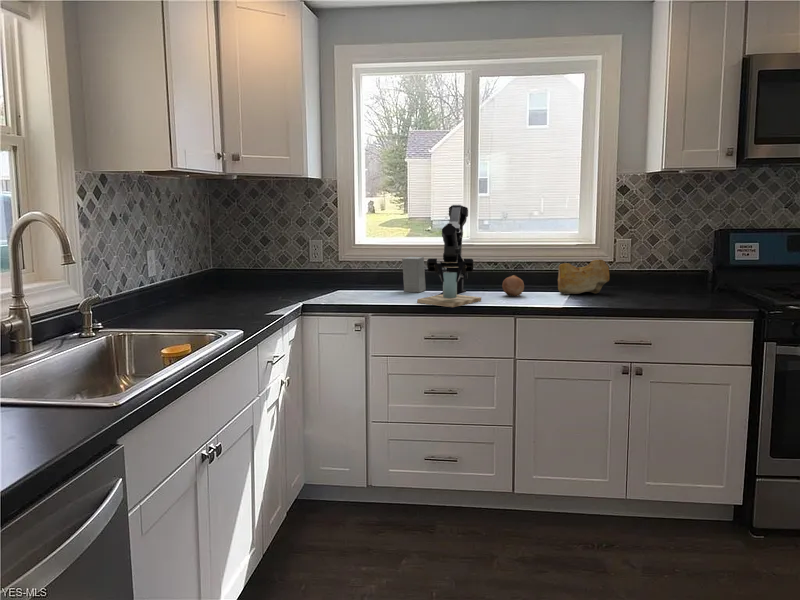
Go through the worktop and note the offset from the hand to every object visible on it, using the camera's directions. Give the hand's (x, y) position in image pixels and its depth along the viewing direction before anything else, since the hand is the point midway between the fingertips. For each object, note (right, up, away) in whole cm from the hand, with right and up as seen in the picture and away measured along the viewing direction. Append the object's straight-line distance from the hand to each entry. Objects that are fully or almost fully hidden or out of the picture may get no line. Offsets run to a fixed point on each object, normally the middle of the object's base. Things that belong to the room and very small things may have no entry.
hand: (449, 281), depth 268 cm
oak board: (+1, -8, +8) cm, 12 cm away
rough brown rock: (+61, -4, +31) cm, 68 cm away
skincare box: (-14, -4, +38) cm, 40 cm away
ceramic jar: (0, -6, +2) cm, 7 cm away
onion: (+29, -6, +23) cm, 38 cm away
